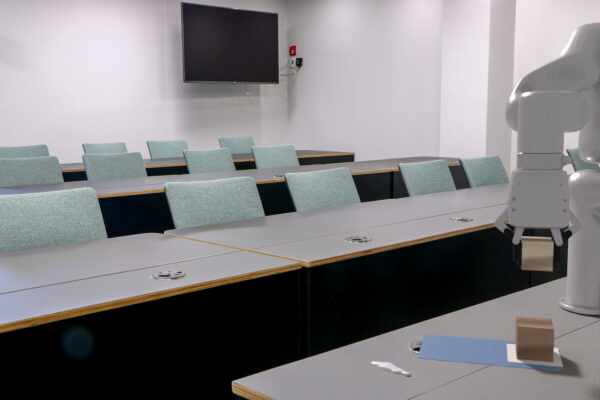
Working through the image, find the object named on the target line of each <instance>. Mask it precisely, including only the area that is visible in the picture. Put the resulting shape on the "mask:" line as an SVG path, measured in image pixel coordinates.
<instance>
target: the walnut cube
mask: <svg viewBox="0 0 600 400" xmlns="http://www.w3.org/2000/svg"><path fill="white" fill-rule="evenodd" d="M515 341H516V342H515V348H516V356H517V359H521V360H533V361H545V362H553V354H554V347H555V327H554V323H553V321H552V318H549V317H548V318H547V317H535V316H522V315H521V316H520V315H516V317H515Z"/></svg>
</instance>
